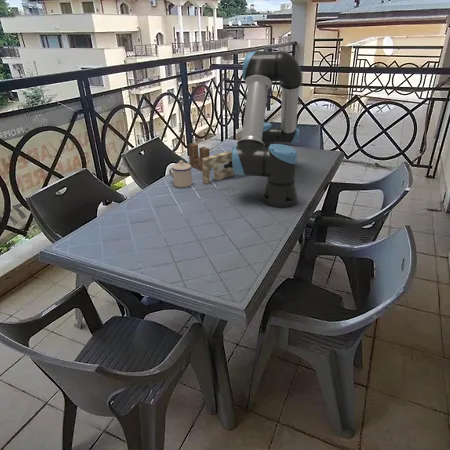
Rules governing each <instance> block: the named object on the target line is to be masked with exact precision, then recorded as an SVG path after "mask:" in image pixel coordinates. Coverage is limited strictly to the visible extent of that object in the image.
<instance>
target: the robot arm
mask: <svg viewBox="0 0 450 450" xmlns="http://www.w3.org/2000/svg"><path fill="white" fill-rule="evenodd" d="M241 75H242V76H241V77H242V79H243V81H245V82H244V83H245V85H246V86H247V94H246V100H245V107H244V108H245V109H244V116H243V124H242V125H243V126H242V133H241V138H240V139H239V140H237V144H236V145H234V146H233V147H232V148H231V152H232V161H229V162H226V163H222V164H219V165H218V170H222V169H226V168H229V167H230V168H232V167H233V173H235V174H236V175H239V176H244V177H246V176H249V177H265V178H266V184H265V186H264V189H263V191H262V193H261V201H262V202H263V203H264V204H265V205H267V206H270V207H273V208H289V207H290V208H291V207H292V206H294V205H296V204H297V203H298V192H297V188H296V175H297V164H298V151H297V150H296V149H295V148H294V147H292V146H290V145H286V144H297V143H299V141H300V133H301V131H300V130H301V129H300V128H297V119H298V118H297V117H298V105H299V95H300V94H299V93H300V92H299V91H300V88H301V87H302V85H303V74H302V69H301V67H300V64H299V63H298V60H296V58H295V57H294V56H293V55H292V54H290V53H288V52H286V51H281V50H280V51H258V50H256V51H249V52H248V53H247V54H246V55H245V56H244V59H243V64H242V74H241ZM273 82H279V86H280V88H281V113H280V114H281V115H280V127H274V126H273V125H272V123H271V122H265V117H266V109H267V108H266V107H267V99H268V92H269V91H268V90H269V89H271V87H272V86H273ZM271 143H272V144H271ZM282 143H283V144H282ZM212 169H213V170H214V168H212Z"/></svg>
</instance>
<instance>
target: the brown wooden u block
mask: <svg viewBox="0 0 450 450" xmlns="http://www.w3.org/2000/svg"><path fill="white" fill-rule="evenodd" d="M187 147H188V159H189V163H188V164H190V165H191V166H192V167H191V168H194V169H196V168H197V170H198V171H201V172H203V170H202V158H205V157H209V156H211V155H210V148H208V147H205V146H202V147H201V146H200V147H199V144H197V143H194V142H191V143H189V144H188V145H187Z"/></svg>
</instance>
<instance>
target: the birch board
mask: <svg viewBox="0 0 450 450" xmlns="http://www.w3.org/2000/svg"><path fill="white" fill-rule="evenodd" d="M229 161H232V151H230V150H227V151H225V152H221V153H217V154H214V155H210V156H209V157H205V158H202V170H203V171H202V183H204V184H206V185H207V184H210V183H211V169H213V168H214V169H213V175H214V176H213V179H214V180H216V181H220V180H223V179H227V178H230V177H232V176H234V170H233V167H232V168H230V167H229V168H226V169H222V170H218V165H219V164H222V163H226V162H229Z"/></svg>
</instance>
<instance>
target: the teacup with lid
mask: <svg viewBox="0 0 450 450" xmlns="http://www.w3.org/2000/svg"><path fill="white" fill-rule="evenodd" d="M168 173H169V176H170V178H173V185H174V186H175V187H177V188H187V187H188V188H189V187H190V186H192V184H193V180H192V179H193V177H192V167H191V165H190V163H186V162H184V160H179V162H177V163H175V164H173V165H172V167H171V168H169V170H168Z"/></svg>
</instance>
